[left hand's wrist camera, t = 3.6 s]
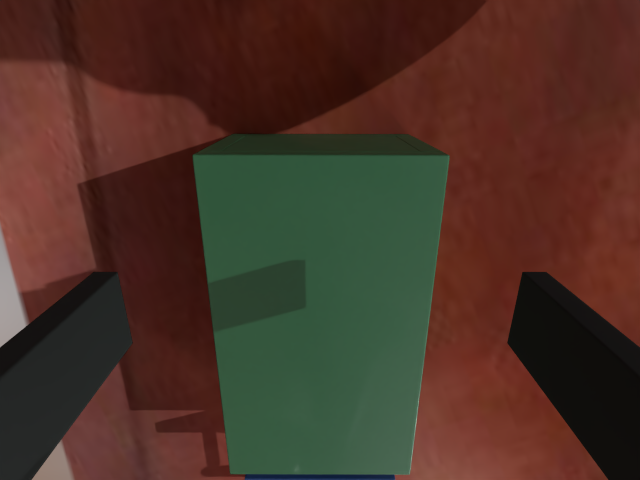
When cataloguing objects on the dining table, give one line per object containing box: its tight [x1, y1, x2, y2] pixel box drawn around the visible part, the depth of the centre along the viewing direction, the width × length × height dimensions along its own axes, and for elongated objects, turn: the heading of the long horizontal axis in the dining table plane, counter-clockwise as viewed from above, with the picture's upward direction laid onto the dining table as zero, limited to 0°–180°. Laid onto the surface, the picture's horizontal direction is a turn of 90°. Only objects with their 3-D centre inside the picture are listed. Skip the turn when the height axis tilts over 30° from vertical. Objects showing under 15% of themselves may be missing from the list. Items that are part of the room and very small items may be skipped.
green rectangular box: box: [192, 134, 449, 475], centre depth 24 cm, size 20×11×8 cm, turn 0°
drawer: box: [245, 474, 395, 480], centre depth 27 cm, size 25×10×6 cm, turn 0°
